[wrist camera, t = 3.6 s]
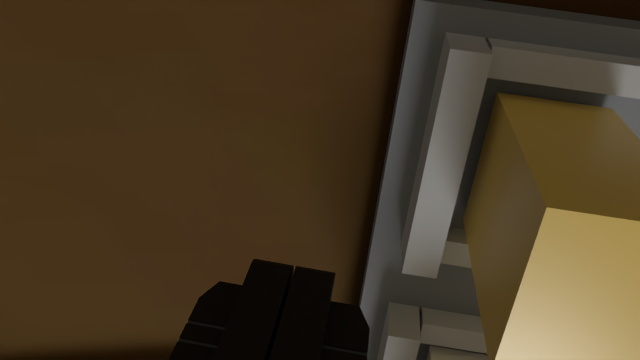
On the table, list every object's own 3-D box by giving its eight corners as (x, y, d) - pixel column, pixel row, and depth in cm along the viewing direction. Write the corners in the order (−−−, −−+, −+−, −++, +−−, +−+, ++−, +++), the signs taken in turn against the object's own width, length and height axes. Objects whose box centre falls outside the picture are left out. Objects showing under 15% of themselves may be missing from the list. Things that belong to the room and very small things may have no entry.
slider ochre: (463, 220, 18) (490, 372, 12) (496, 92, 16) (546, 207, 10) (565, 235, 17) (638, 396, 12) (612, 108, 15) (722, 234, 10)
